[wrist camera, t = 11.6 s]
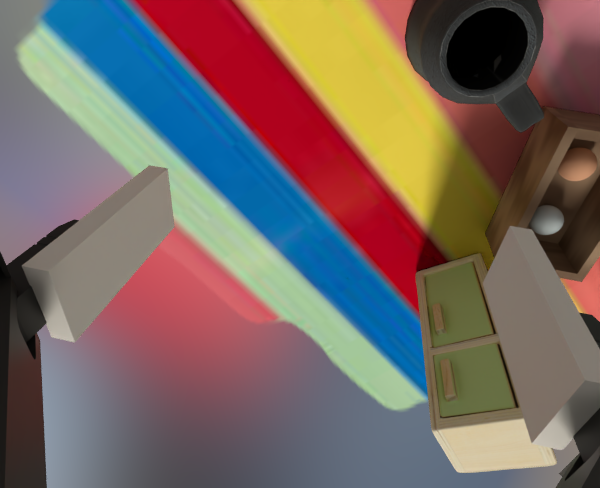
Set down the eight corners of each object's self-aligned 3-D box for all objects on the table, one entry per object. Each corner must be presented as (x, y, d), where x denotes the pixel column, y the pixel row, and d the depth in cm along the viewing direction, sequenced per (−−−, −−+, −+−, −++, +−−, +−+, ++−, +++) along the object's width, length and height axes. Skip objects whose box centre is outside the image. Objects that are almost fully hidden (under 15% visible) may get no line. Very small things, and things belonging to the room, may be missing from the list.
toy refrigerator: (480, 245, 44) (537, 412, 27) (498, 291, 47) (559, 468, 30) (412, 266, 48) (425, 426, 31) (433, 308, 51) (455, 475, 34)
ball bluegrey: (532, 197, 39) (542, 211, 37) (563, 202, 39) (575, 217, 37) (519, 222, 41) (528, 237, 39) (549, 227, 41) (559, 243, 38)
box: (543, 106, 35) (568, 126, 30) (636, 120, 34) (677, 143, 30) (485, 233, 43) (497, 265, 38) (559, 247, 43) (581, 281, 38)
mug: (383, 28, 34) (381, 47, 25) (480, -65, 30) (521, -84, 20) (460, 130, 38) (483, 179, 29) (557, 61, 33) (621, 93, 24)
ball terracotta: (561, 140, 36) (574, 152, 33) (595, 145, 35) (611, 158, 33) (546, 170, 38) (557, 183, 35) (578, 175, 37) (592, 189, 35)
